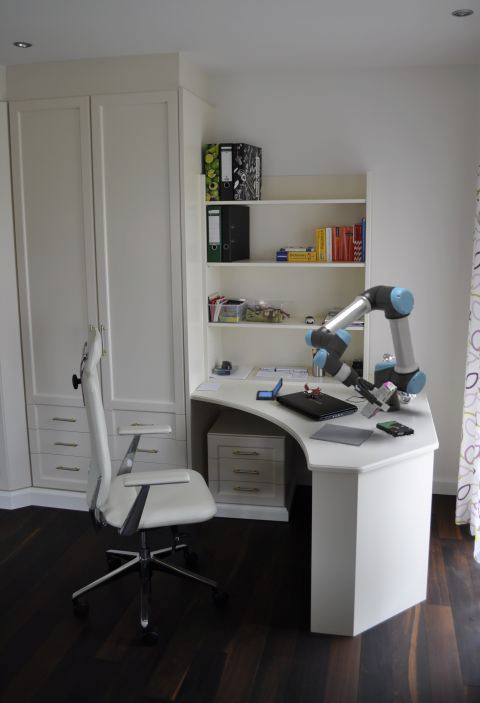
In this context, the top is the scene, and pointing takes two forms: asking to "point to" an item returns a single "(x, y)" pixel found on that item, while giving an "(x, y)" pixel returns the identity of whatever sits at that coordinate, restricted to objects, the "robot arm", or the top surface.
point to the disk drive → (395, 428)
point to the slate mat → (342, 434)
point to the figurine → (312, 391)
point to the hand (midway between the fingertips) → (386, 403)
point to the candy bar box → (381, 394)
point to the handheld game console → (270, 392)
